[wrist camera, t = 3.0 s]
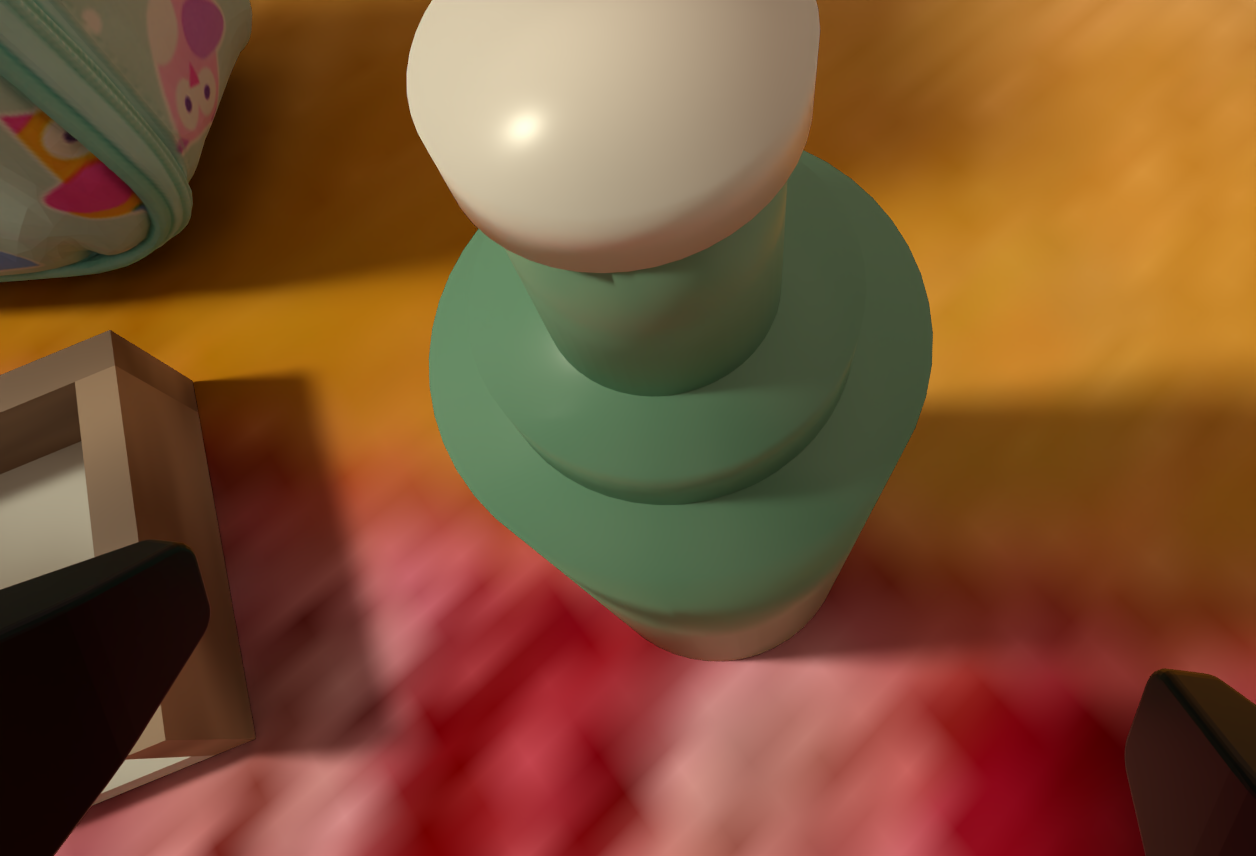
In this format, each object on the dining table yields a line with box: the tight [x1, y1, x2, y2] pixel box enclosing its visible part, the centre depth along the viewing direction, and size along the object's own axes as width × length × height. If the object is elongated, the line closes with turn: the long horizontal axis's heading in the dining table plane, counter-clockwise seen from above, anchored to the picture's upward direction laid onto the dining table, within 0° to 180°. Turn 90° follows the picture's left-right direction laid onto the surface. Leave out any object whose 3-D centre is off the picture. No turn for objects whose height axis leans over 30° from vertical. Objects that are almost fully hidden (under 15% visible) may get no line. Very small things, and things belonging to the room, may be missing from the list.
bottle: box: [407, 0, 933, 661], centre depth 12 cm, size 6×6×14 cm
